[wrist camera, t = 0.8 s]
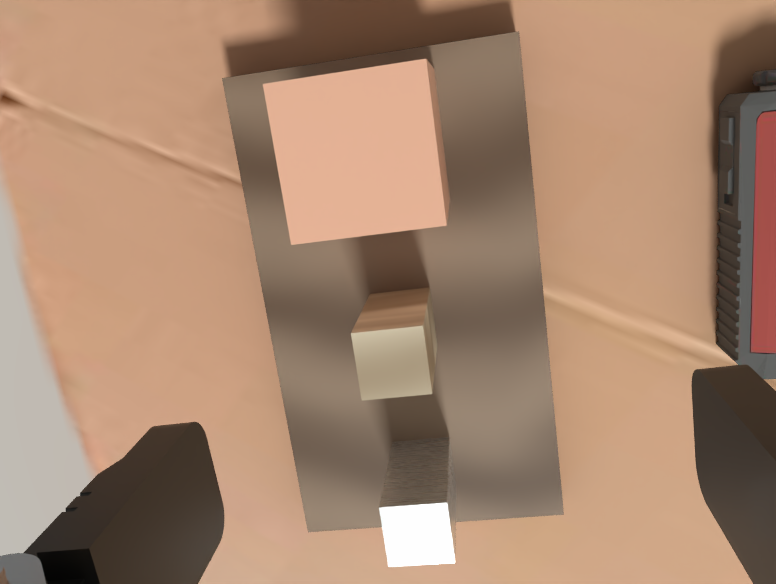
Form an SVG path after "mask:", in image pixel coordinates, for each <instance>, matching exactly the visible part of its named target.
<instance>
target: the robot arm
mask: <svg viewBox="0 0 776 584" xmlns="http://www.w3.org/2000/svg"><path fill="white" fill-rule="evenodd" d="M692 401H693V420H694V439H695V457H696V469H697V475H698V480H699V484H700V488H701V491H702V494H703V497H704V499H705V502H706V504H707V506H708V507H709V509H710V511H711V512H712V514H713V516H714V518H715V519H716V521H717V523H718V524H719V526H720V528H721V529H722V531H723V533H724V535H725V536H726V538H727V540H728V541H729V543H730V545H731V546H732V548H733V550H734V552H735V553H736V555H737V557H738V558H739V560H740V562H741V563H742V565H743V567H744V569H745V570H746V572H747V574H748V575H749V577H750V579H751V581H752V582H753V584H776V391H775V390H774V389H773V388H772V387H771V386H770V385H769V384H768V383H767V382H766V381H765V380H763V379H762V378H761V377H760V376H759V375H758V374H757V373H756V372H755V371H754V370H753V369H752V368H751V367H750V366H749V365H746V364H744V365H735V366H726V367H716V368H707V369H697V370H695V371H694V373H693V376H692ZM223 529H224V508H223V502H222V498H221V494H220V490H219V486H218V482H217V478H216V474H215V470H214V465H213V461H212V457H211V453H210V449H209V445H208V441H207V437H206V434H205V432H204V429H203V428H202V426H201V425H200V424H199V423H197V422H190V423H180V424H171V425H161V426H154V427H152V428H150V429H149V430H148V432H147V433H146V434H145V435H144V436H143V437H142V438H141V439H140V440H139V441H138V442H137V443H136V445H135V446H134V447H133V448H132V449H131V450H130V451H129V452H128V453H127V454H126V455H125V457H124V458H123V459H121V460H119V461H118V462H116V463H115V464H113V465H112V466H110V467H109V468H107V469H105V470H104V471H102V472H101V473H99V474H98V475H97V476H96V477H95V478H94V479H93V480H92V481H91V482H90V483H89V484H88V485H87V486H86V487H85V488H84V489H83V491H82V492H81V493H80V496H79V497H76V498H75V499H74V500H73V501H72V502H71V503H70V505H68V506H67V508H66V512H62V513H61V514H60V515H59V516H58V517H57V518H56V519H55V520H54V521H53V522H52V523H51V524H50V525H49V527H48V528H47V529H46V530H45V531H44V532H43V533H42V534H41V535H40V536H39V537H38V538H37V539H36V540H35V541H34V543H32V544H31V546H30V547H29V548H28V549H27V550H26V551H25V552H24V553H17V554H8V555H3V556H0V584H198V582H199V581H200V579H201V577H202V575H203V573H204V571H205V569H206V567H207V566H208V564H209V562H210V560H211V558H212V556H213V554H214V553H215V551H216V549H217V547H218V545H219V543H220V541H221V538H222V534H223Z"/></svg>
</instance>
